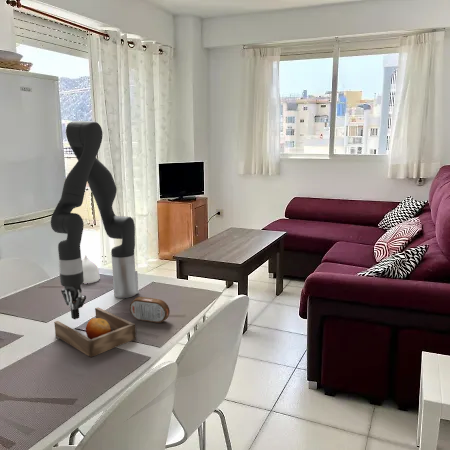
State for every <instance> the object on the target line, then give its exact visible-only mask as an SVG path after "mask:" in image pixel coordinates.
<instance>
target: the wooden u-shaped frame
mask: <svg viewBox="0 0 450 450" xmlns="http://www.w3.org/2000/svg"><path fill="white" fill-rule="evenodd" d="M94 310H95V311H94V312H95V318H101V319H104V320H106V321H107V322H108V323H109V325H110V328H111V332H109V333H106V334H104V335H101V336H99V337H96V338H93V339H90V338H88V337H87V335H84V334H82V333H81V332H79V331H77V330H76V329H73V328H72V327H70V326H68V325H66V324H65V323H63V322H61V321H59V320H56V321H54V334H55V337H56V338H58V339H60V340H62V341H64V343H66V344H68V345H70V346H72V347H73V348H75V349H77V350H78V351H79V352H81V353H83V354H84V355H86V356H88V357H90V358H92V357H96V356H98V355H101V354H103V353H105V352H107V351H108V352H109V351H110V350H112V349H115V348H116V347H120V346H122V345H124V344H126V343H129V342H131V341H134V340H136V339H137V334H136V333H137V331H136V324H135V323H133V322H131V321H129V320H127V319H125V318H123V317H121V316H118V315H116V314H114V313H111V312H109V311H107V310H105V309H102V308H100V307H95V309H94Z"/></svg>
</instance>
